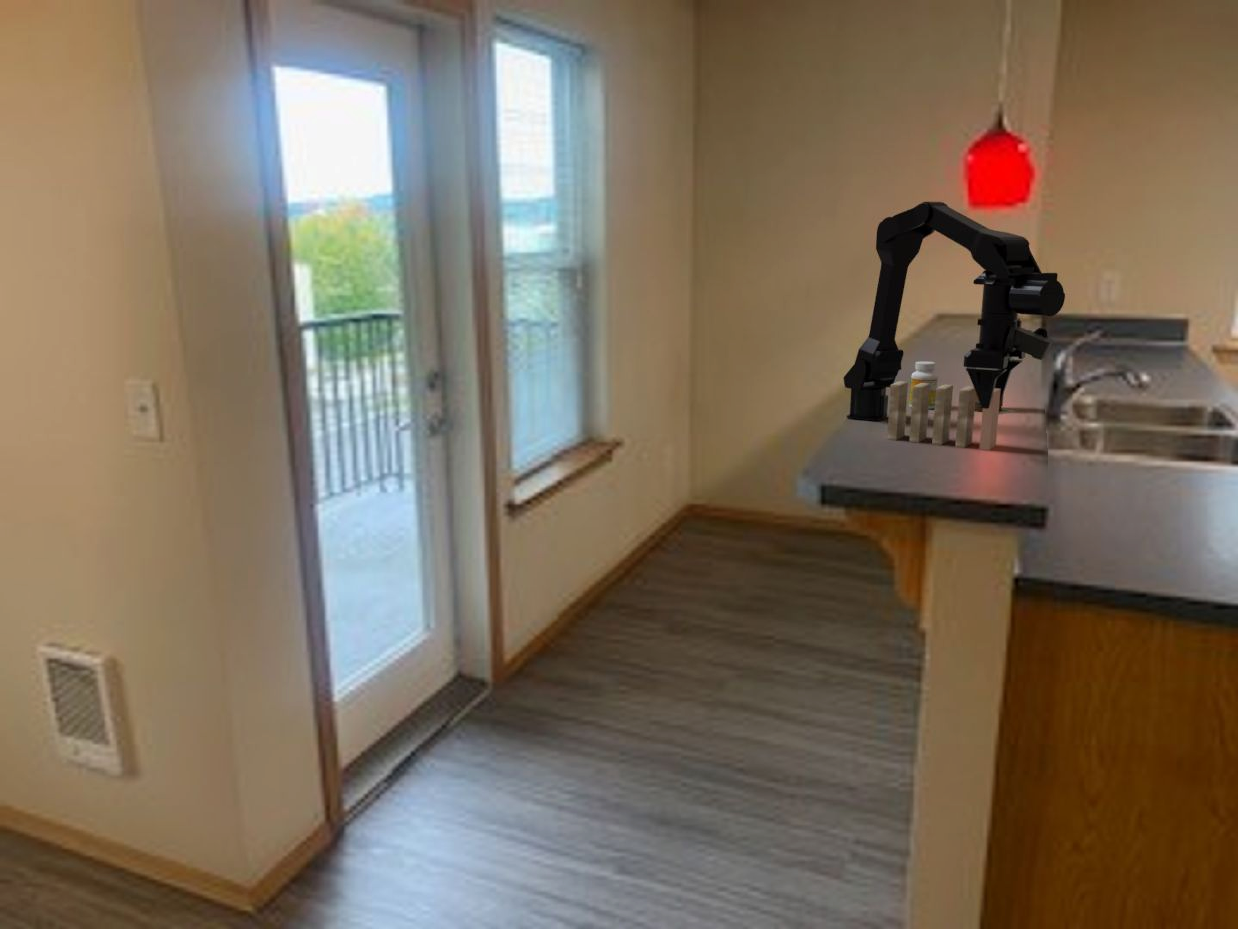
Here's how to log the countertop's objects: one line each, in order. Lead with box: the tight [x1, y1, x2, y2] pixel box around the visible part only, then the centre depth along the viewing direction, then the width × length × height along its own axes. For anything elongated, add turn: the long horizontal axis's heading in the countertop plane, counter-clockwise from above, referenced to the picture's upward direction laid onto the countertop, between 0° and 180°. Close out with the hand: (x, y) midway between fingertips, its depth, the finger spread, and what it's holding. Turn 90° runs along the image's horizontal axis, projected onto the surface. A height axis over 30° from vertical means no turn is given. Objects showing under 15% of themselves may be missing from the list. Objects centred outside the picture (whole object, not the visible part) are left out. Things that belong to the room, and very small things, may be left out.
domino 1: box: [886, 380, 909, 441], centre depth 168 cm, size 2×5×10 cm, turn 146°
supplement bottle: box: [908, 360, 938, 410], centre depth 198 cm, size 5×5×10 cm
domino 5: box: [979, 388, 1001, 451], centre depth 159 cm, size 2×5×10 cm, turn 146°
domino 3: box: [931, 384, 954, 446], centre depth 163 cm, size 2×5×10 cm, turn 146°
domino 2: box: [908, 383, 930, 444], centre depth 165 cm, size 2×5×10 cm, turn 146°
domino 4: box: [955, 385, 976, 449], centre depth 161 cm, size 2×5×10 cm, turn 146°
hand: (991, 404), depth 158 cm, fingers open, 9 cm apart
